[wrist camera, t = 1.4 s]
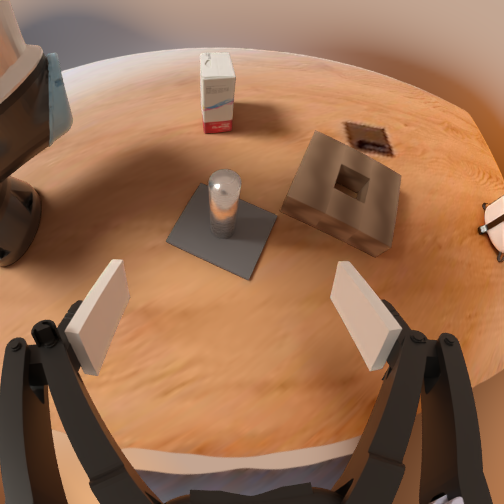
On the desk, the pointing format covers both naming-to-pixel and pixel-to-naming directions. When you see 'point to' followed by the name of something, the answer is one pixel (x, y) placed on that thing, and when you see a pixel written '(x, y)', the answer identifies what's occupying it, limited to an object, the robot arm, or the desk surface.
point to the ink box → (217, 91)
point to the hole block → (345, 195)
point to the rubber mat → (223, 250)
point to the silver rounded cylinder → (224, 202)
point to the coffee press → (495, 224)
